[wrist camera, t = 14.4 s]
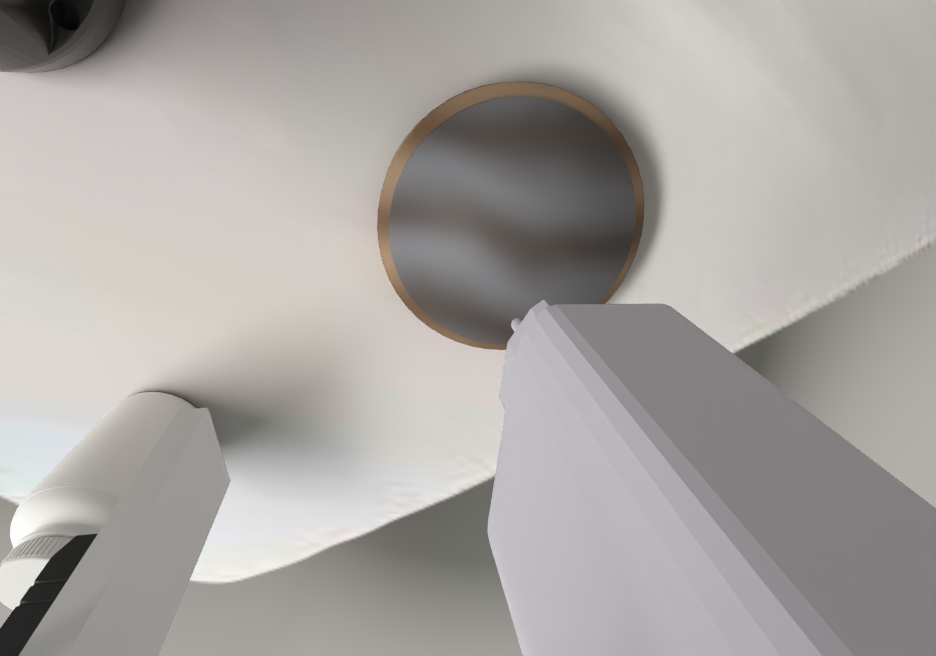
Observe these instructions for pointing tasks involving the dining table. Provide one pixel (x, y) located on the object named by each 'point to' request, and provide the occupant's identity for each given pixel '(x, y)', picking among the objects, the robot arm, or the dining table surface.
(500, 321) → the round mirror
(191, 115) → the dining table surface
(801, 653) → the charger
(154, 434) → the pill bottle
